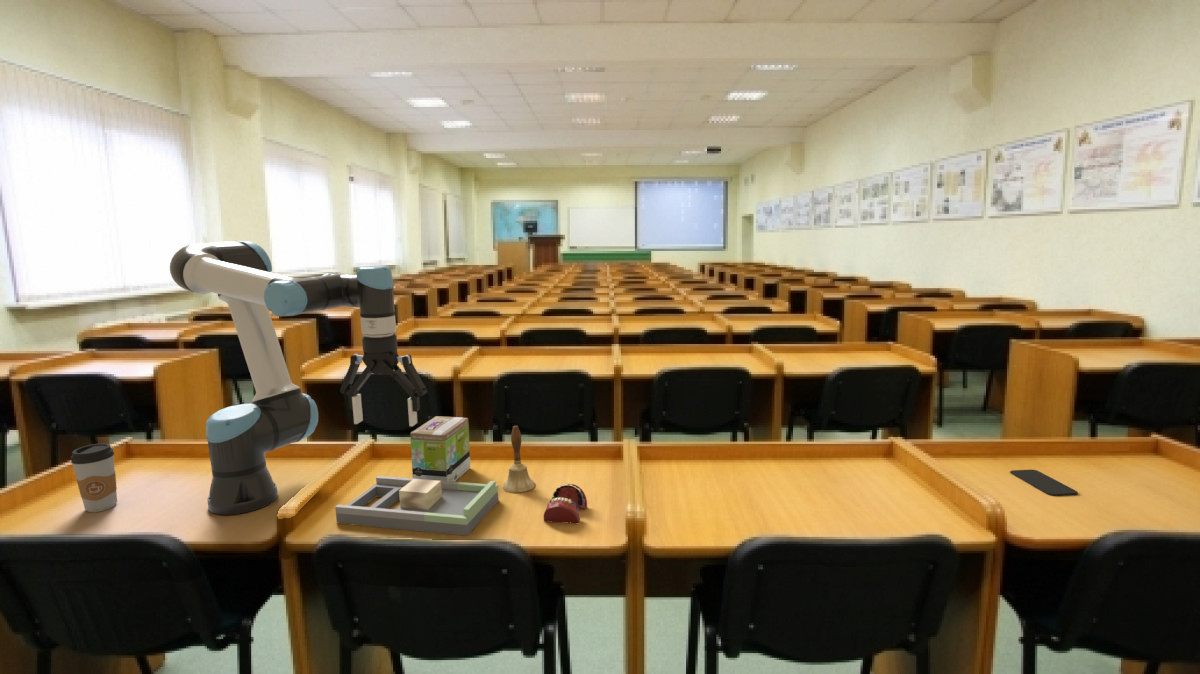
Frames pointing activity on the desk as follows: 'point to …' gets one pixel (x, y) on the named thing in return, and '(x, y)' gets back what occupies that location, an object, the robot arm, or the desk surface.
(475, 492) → the lane deck
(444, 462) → the tea box
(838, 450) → the desk surface
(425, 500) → the block
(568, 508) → the teeth model
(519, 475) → the hand bell
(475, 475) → the desk surface
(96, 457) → the coffee cup
